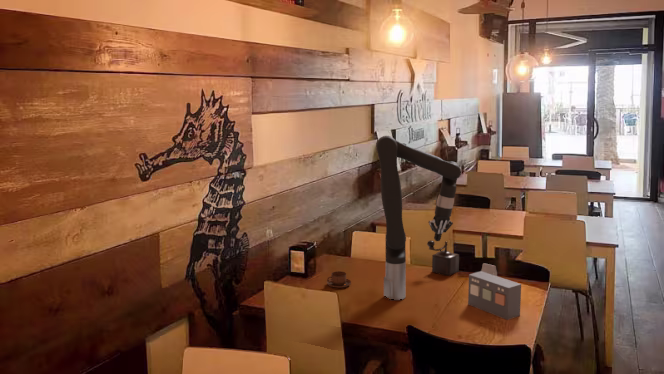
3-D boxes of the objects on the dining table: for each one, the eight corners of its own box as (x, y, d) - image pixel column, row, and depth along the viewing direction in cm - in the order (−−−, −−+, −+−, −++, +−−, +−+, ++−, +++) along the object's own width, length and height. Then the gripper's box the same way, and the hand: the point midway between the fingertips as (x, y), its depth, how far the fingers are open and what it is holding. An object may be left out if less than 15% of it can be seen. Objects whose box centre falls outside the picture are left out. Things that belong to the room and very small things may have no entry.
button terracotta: (495, 302, 254) (495, 292, 253) (502, 300, 256) (502, 290, 256) (503, 305, 250) (503, 295, 249) (510, 303, 253) (510, 293, 252)
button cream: (470, 293, 265) (470, 284, 264) (477, 291, 268) (477, 282, 267) (477, 296, 262) (478, 286, 261) (484, 294, 264) (485, 284, 263)
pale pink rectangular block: (492, 286, 291) (493, 266, 289) (480, 283, 296) (481, 264, 294) (496, 284, 294) (497, 265, 292) (484, 281, 298) (484, 262, 296)
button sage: (482, 298, 260) (482, 288, 259) (489, 295, 262) (489, 286, 261) (490, 301, 256) (490, 291, 255) (497, 298, 258) (497, 289, 258)
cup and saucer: (338, 291, 288) (337, 279, 287) (321, 285, 297) (321, 273, 295) (356, 285, 295) (356, 273, 294) (339, 280, 304) (339, 268, 303)
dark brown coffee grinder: (441, 267, 322) (441, 234, 319) (459, 271, 315) (459, 238, 312) (424, 274, 311) (425, 240, 308) (443, 278, 304) (443, 244, 301)
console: (467, 304, 268) (468, 274, 265) (480, 300, 273) (481, 271, 270) (507, 320, 250) (508, 288, 248) (520, 315, 255) (521, 284, 252)
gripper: (451, 202, 278) (443, 237, 283) (428, 202, 272) (420, 237, 276) (461, 208, 272) (453, 243, 276) (437, 207, 266) (429, 244, 270)
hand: (436, 240), depth 276 cm, fingers closed
